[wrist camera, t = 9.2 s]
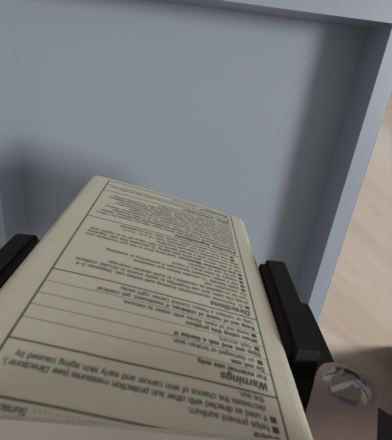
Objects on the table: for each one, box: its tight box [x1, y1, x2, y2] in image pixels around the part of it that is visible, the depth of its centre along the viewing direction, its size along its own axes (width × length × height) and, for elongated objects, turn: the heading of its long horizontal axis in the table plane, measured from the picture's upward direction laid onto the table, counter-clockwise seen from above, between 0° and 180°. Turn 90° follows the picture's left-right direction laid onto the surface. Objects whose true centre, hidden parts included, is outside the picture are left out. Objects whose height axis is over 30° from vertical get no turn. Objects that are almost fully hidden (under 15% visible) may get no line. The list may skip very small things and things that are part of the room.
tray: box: [0, 0, 392, 322], centre depth 19 cm, size 18×20×3 cm
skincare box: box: [0, 175, 313, 440], centre depth 9 cm, size 6×4×12 cm
